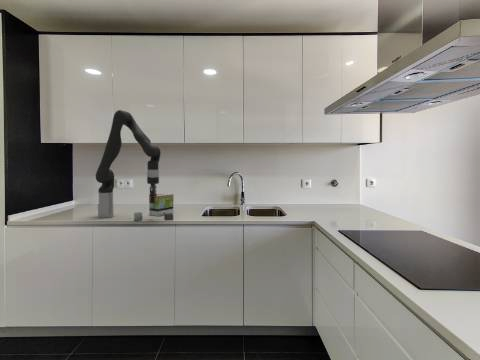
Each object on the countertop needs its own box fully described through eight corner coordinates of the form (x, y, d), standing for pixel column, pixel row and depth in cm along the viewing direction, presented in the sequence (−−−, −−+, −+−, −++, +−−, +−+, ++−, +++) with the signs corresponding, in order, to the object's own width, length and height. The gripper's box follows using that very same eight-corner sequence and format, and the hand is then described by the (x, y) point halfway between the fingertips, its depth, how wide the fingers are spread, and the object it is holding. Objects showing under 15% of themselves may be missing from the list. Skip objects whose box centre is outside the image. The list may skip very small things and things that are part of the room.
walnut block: (149, 203, 198) (149, 194, 197) (150, 202, 202) (150, 193, 202) (156, 203, 199) (156, 194, 198) (157, 202, 203) (157, 193, 203)
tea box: (158, 216, 213) (158, 195, 211) (149, 215, 218) (148, 194, 217) (173, 213, 225) (173, 193, 224) (164, 211, 231) (164, 192, 229)
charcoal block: (165, 220, 200) (165, 214, 200) (164, 219, 205) (164, 213, 204) (173, 220, 202) (173, 214, 202) (171, 218, 207) (171, 212, 206)
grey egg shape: (133, 221, 197) (133, 213, 197) (135, 219, 202) (134, 212, 202) (141, 221, 198) (141, 213, 197) (142, 219, 203) (142, 212, 202)
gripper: (148, 175, 206) (149, 200, 207) (145, 177, 191) (145, 203, 193) (160, 175, 207) (160, 200, 208) (157, 177, 192) (157, 203, 194)
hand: (153, 201), depth 200 cm, fingers closed on walnut block, 4 cm apart
